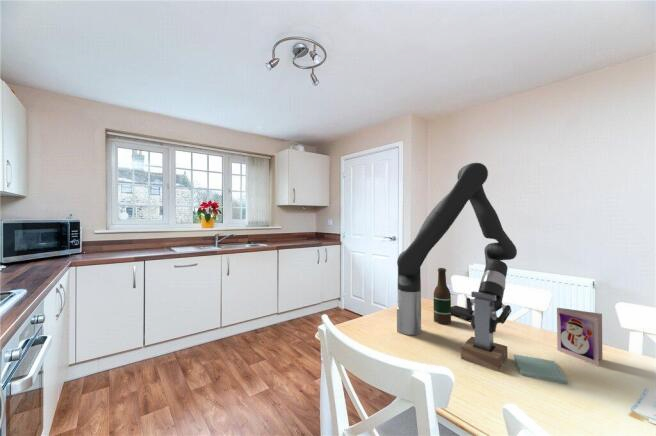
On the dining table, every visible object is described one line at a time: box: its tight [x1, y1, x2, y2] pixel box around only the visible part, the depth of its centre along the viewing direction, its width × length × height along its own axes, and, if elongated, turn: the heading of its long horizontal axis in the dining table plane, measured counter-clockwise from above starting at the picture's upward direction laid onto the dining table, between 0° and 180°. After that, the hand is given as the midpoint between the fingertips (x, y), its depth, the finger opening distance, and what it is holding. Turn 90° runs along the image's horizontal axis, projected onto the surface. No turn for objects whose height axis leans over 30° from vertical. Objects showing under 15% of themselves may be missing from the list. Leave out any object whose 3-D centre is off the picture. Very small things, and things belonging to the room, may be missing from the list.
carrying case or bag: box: [451, 305, 474, 322], centre depth 131 cm, size 11×3×15 cm
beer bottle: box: [433, 267, 452, 325], centre depth 124 cm, size 8×8×24 cm
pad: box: [512, 353, 569, 385], centre depth 85 cm, size 11×12×1 cm
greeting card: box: [556, 307, 603, 367], centre depth 92 cm, size 11×7×15 cm, turn 20°
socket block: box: [460, 336, 509, 372], centre depth 91 cm, size 11×11×4 cm
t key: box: [470, 290, 496, 352], centre depth 91 cm, size 4×7×22 cm, turn 45°
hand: (482, 329), depth 90 cm, fingers closed on t key, 4 cm apart
